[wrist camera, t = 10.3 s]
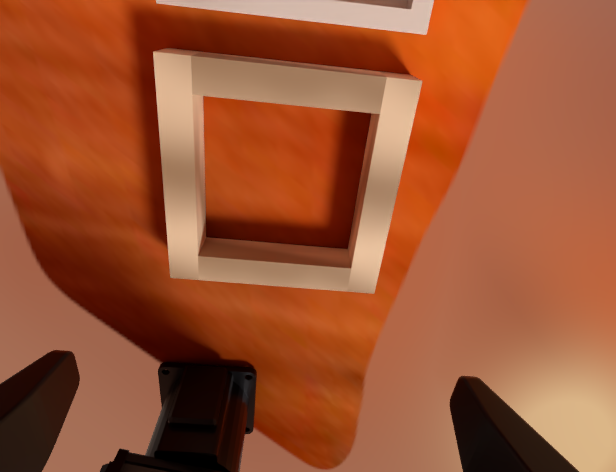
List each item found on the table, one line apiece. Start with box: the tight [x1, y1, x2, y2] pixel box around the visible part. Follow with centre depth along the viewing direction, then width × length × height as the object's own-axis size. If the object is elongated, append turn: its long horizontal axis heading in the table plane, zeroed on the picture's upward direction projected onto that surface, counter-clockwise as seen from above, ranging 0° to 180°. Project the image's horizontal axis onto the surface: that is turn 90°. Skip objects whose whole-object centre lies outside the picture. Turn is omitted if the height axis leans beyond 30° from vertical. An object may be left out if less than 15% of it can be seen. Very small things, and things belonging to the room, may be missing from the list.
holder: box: [153, 48, 422, 294], centre depth 20 cm, size 11×11×2 cm
